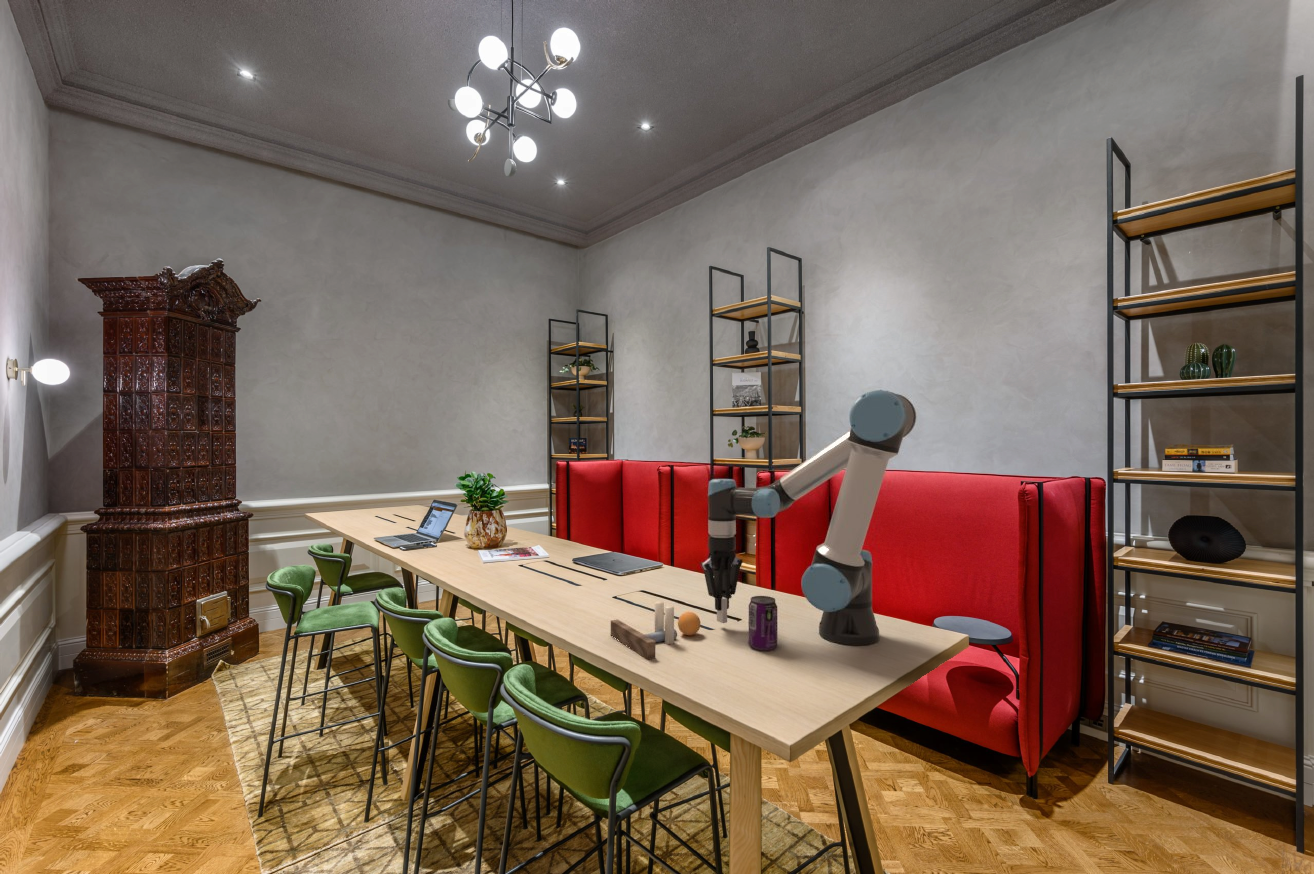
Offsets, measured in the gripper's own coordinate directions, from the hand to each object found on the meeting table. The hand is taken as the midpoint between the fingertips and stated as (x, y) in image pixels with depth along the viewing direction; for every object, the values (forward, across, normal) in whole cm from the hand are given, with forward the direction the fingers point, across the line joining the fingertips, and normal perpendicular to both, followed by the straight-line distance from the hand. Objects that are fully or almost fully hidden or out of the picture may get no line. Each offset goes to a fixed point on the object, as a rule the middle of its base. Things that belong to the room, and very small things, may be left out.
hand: (722, 621), depth 162 cm
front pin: (+1, +15, 0) cm, 15 cm away
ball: (-1, +11, 0) cm, 11 cm away
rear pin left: (+2, +18, +2) cm, 19 cm away
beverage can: (+2, 0, +17) cm, 17 cm away
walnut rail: (+2, +28, 0) cm, 28 cm away
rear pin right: (+2, +18, -2) cm, 19 cm away
